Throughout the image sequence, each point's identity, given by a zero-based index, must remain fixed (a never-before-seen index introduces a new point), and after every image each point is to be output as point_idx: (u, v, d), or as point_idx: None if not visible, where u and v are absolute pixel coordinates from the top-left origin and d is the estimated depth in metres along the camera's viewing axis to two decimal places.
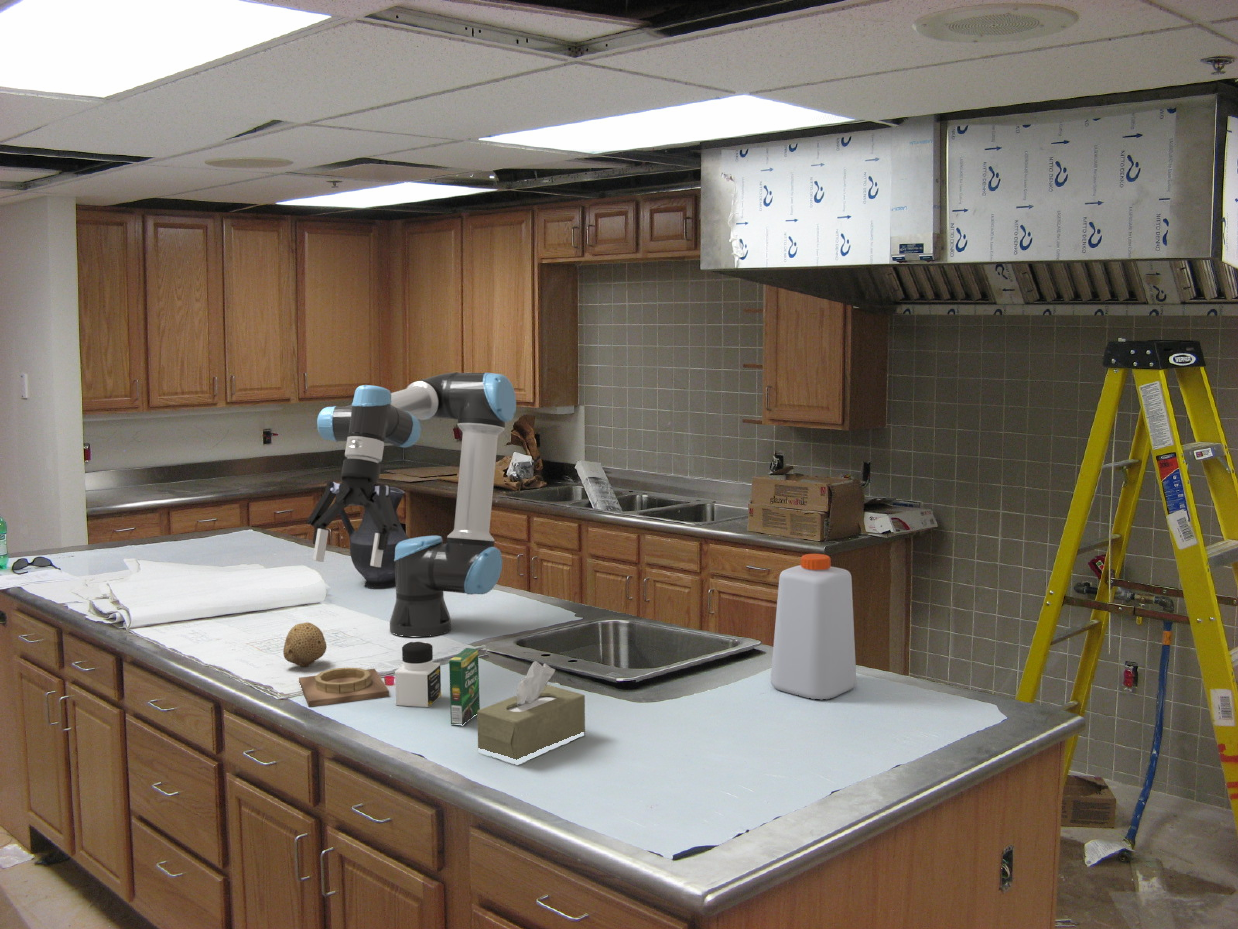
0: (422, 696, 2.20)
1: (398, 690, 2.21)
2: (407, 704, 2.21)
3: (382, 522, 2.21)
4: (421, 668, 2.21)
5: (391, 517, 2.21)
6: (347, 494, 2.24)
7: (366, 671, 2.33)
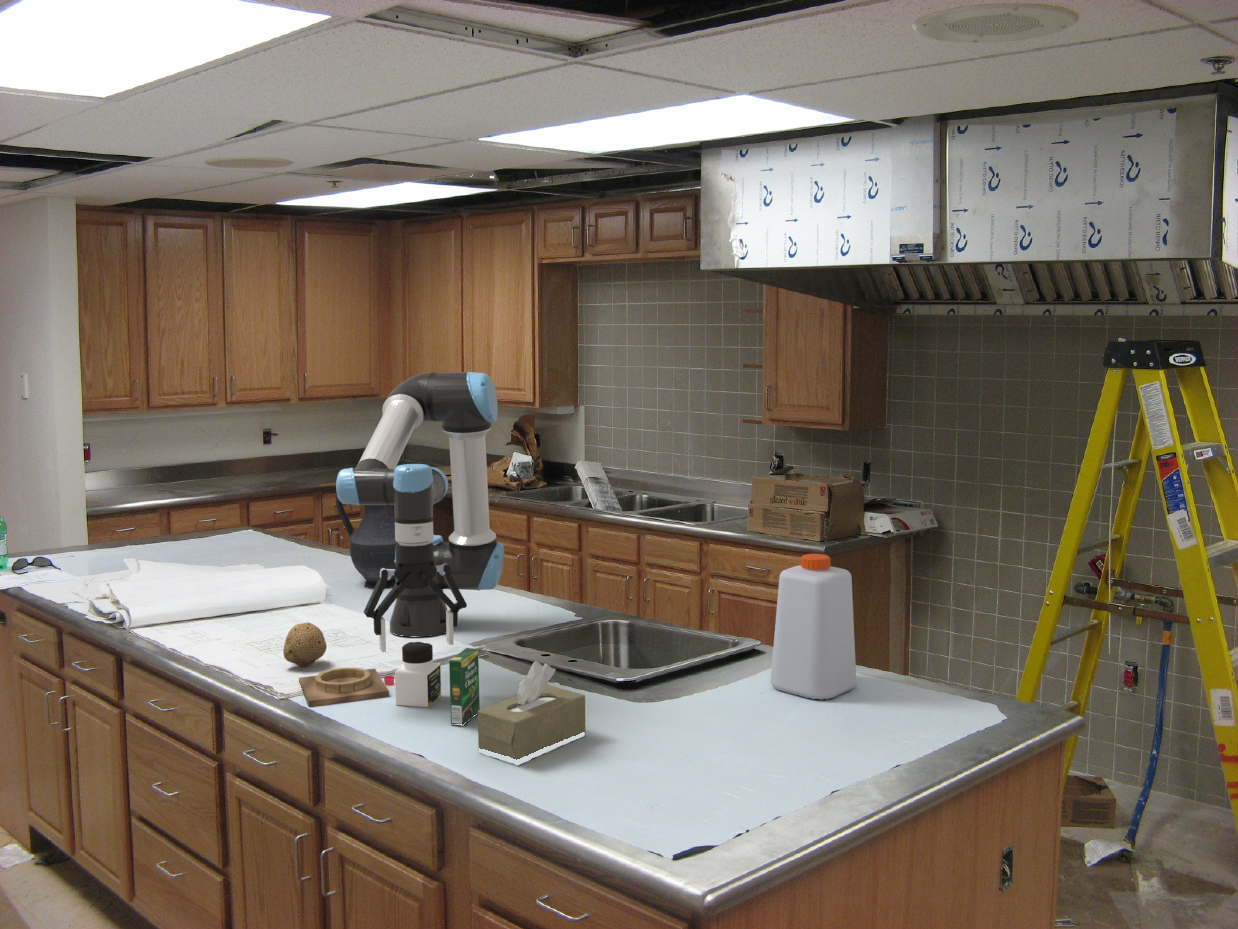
0: (422, 696, 2.20)
1: (398, 690, 2.21)
2: (407, 704, 2.21)
3: None
4: (421, 668, 2.21)
5: None
6: None
7: (366, 671, 2.33)
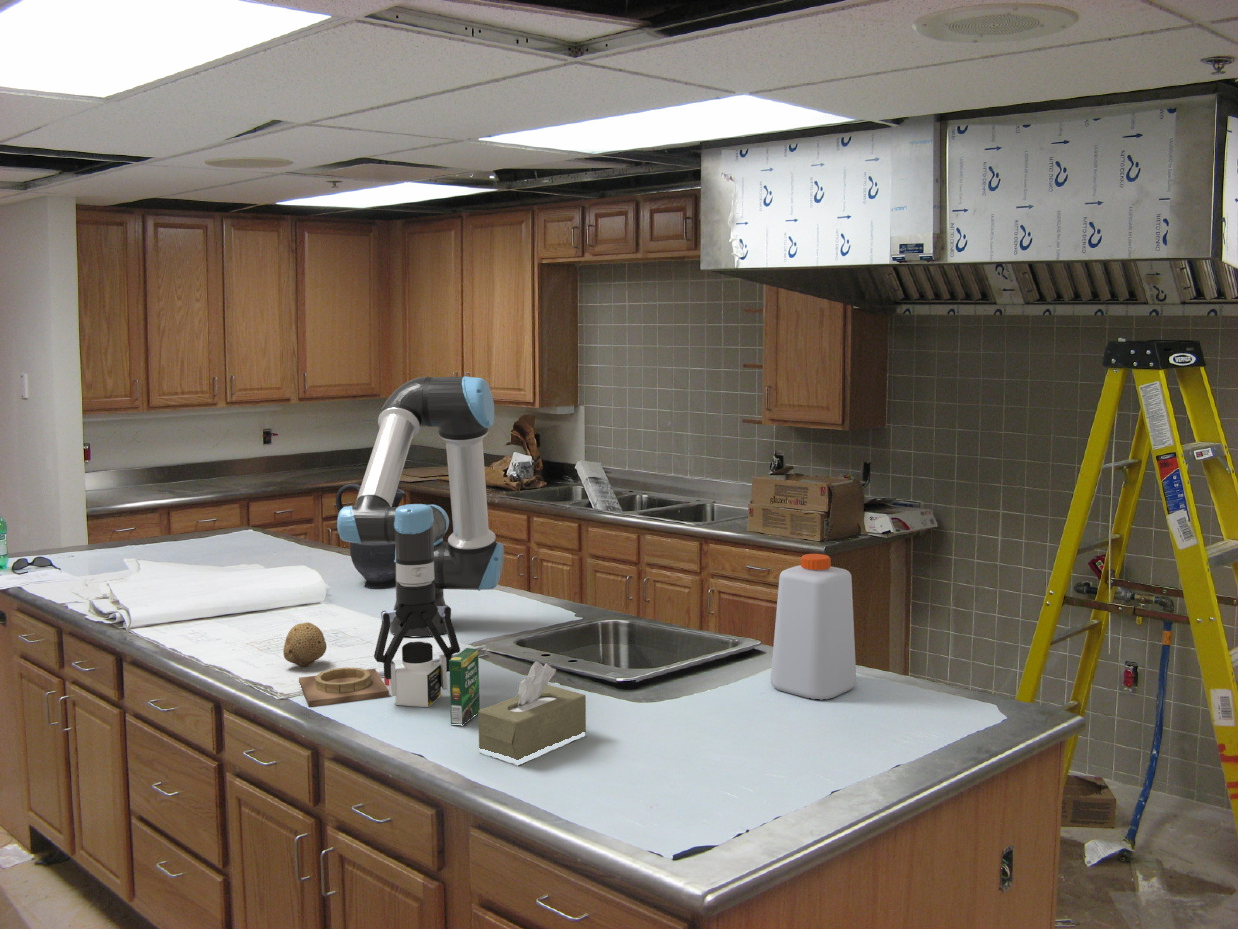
0: (422, 696, 2.20)
1: (398, 690, 2.21)
2: (407, 704, 2.21)
3: (446, 645, 2.24)
4: (421, 668, 2.21)
5: (456, 639, 2.25)
6: None
7: (366, 671, 2.33)
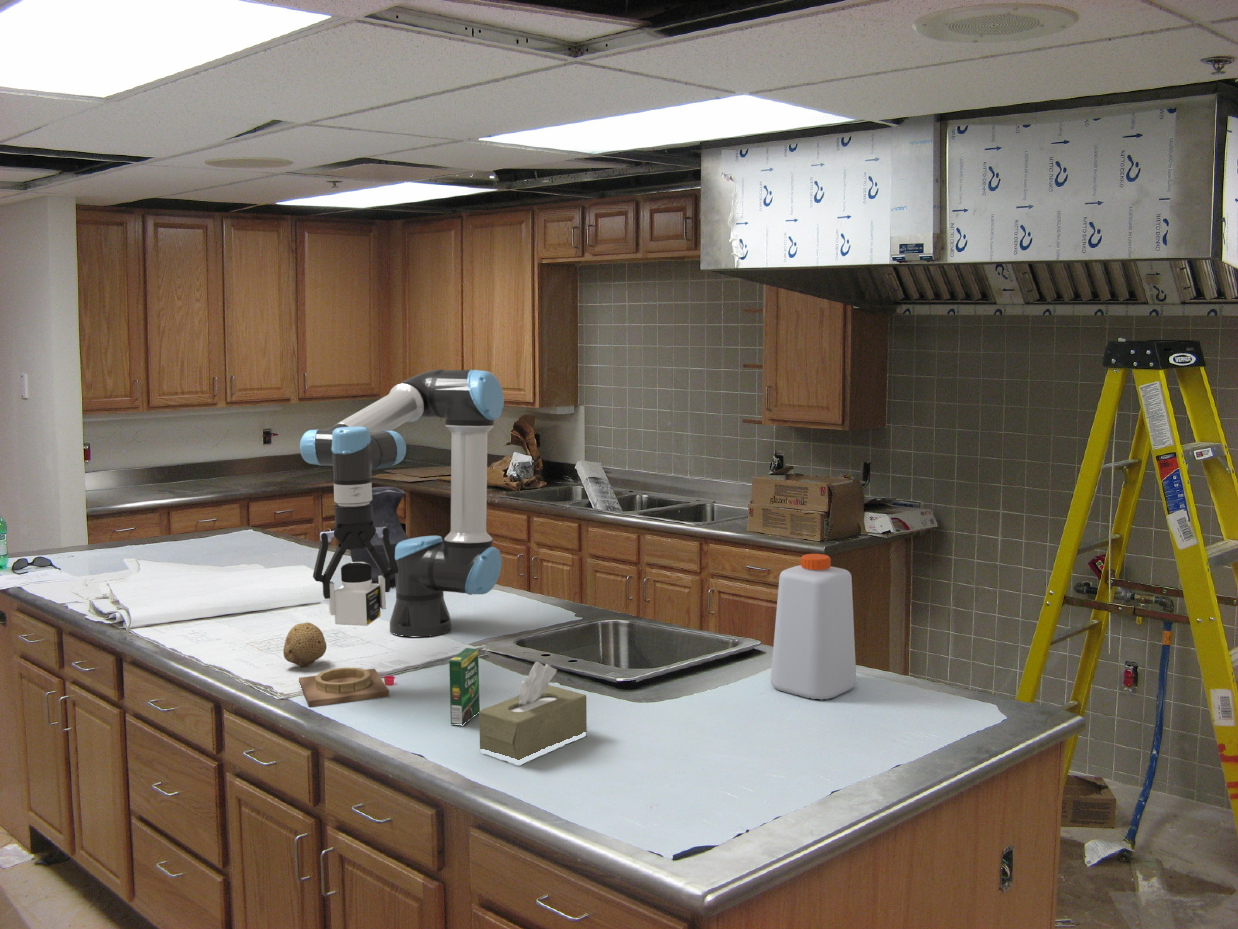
0: (361, 614, 2.24)
1: (337, 609, 2.24)
2: (346, 623, 2.24)
3: (384, 565, 2.28)
4: (359, 587, 2.24)
5: (395, 560, 2.29)
6: (350, 540, 2.24)
7: (366, 671, 2.33)
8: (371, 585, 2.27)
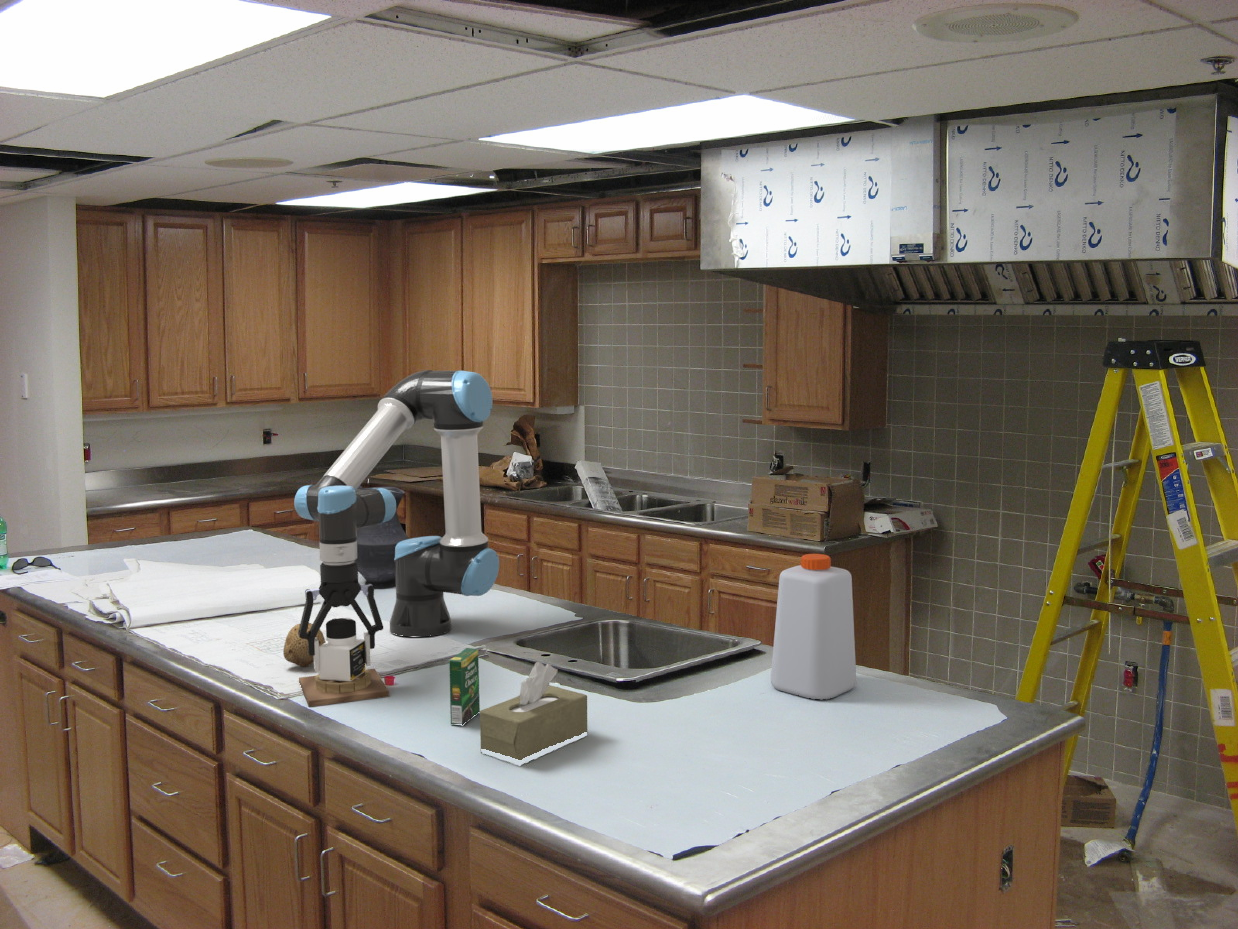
0: (345, 670, 2.26)
1: (322, 665, 2.27)
2: (330, 678, 2.27)
3: (369, 622, 2.31)
4: (343, 644, 2.27)
5: None
6: (335, 598, 2.27)
7: (366, 671, 2.33)
8: (356, 641, 2.30)
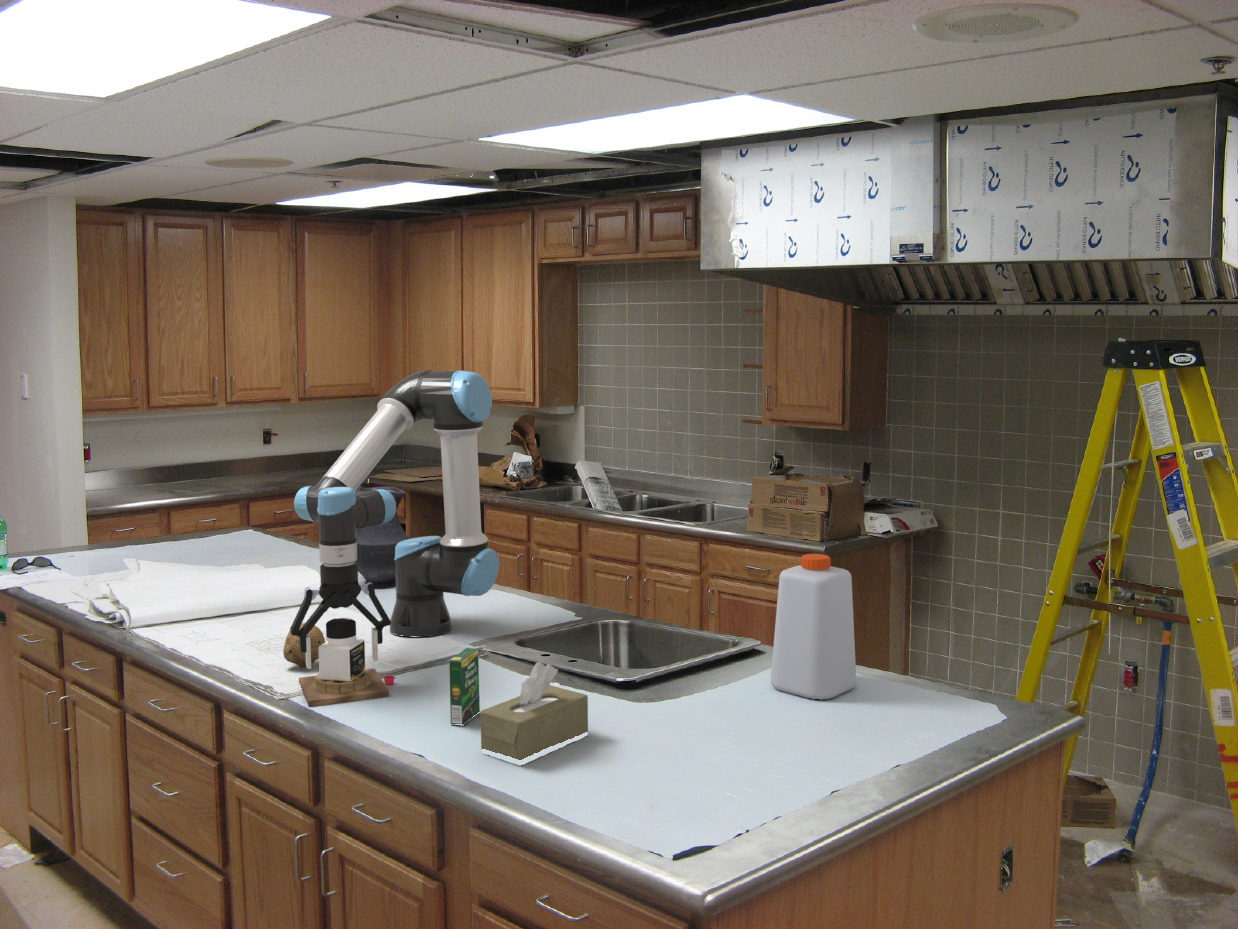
0: (345, 670, 2.26)
1: (321, 665, 2.27)
2: (330, 678, 2.27)
3: (375, 618, 2.31)
4: (343, 644, 2.27)
5: (385, 612, 2.32)
6: None
7: (366, 671, 2.33)
8: (356, 641, 2.30)
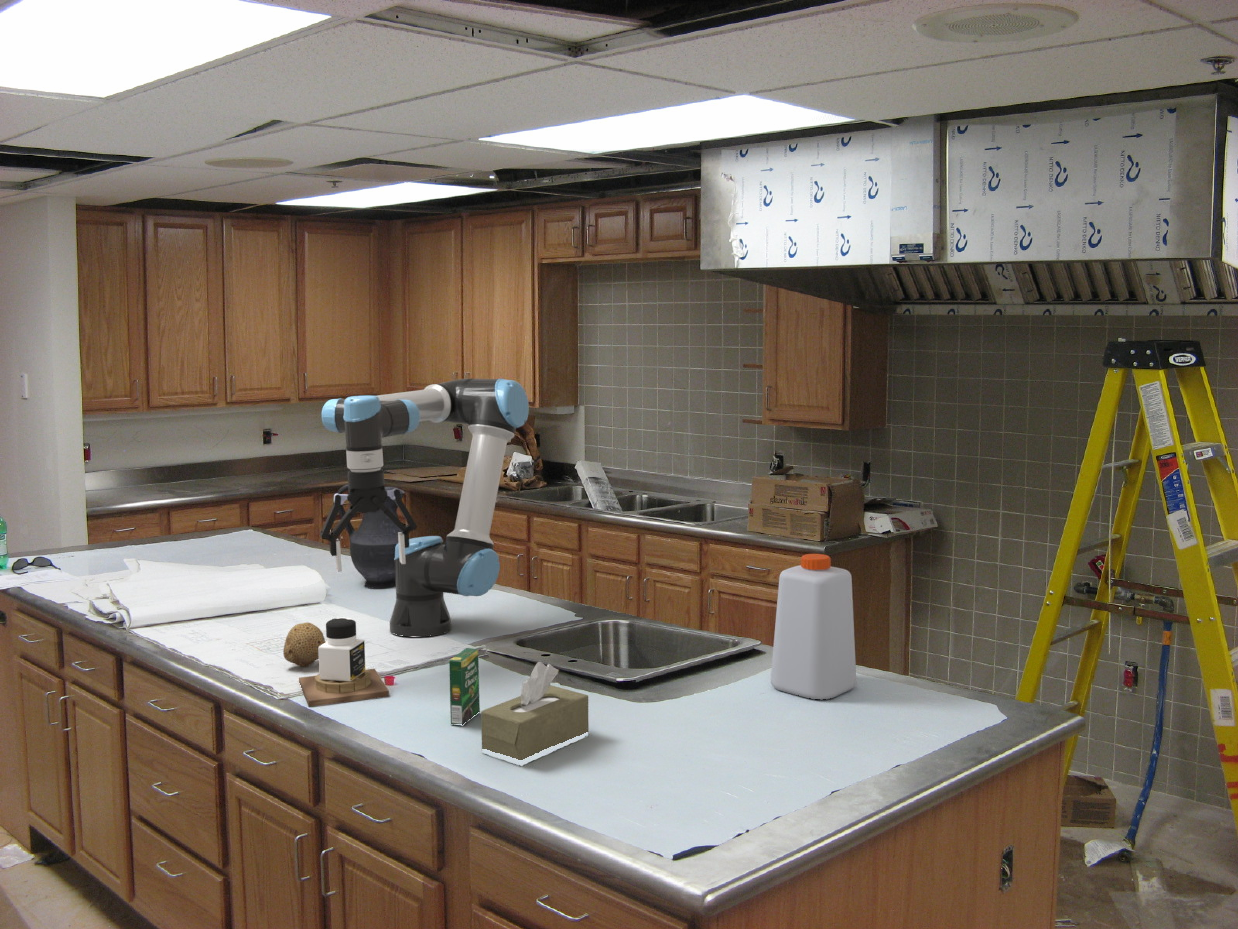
0: (345, 670, 2.26)
1: (321, 665, 2.27)
2: (330, 678, 2.27)
3: (402, 523, 2.39)
4: (343, 644, 2.27)
5: (411, 517, 2.39)
6: (362, 505, 2.34)
7: (366, 671, 2.33)
8: (356, 641, 2.30)
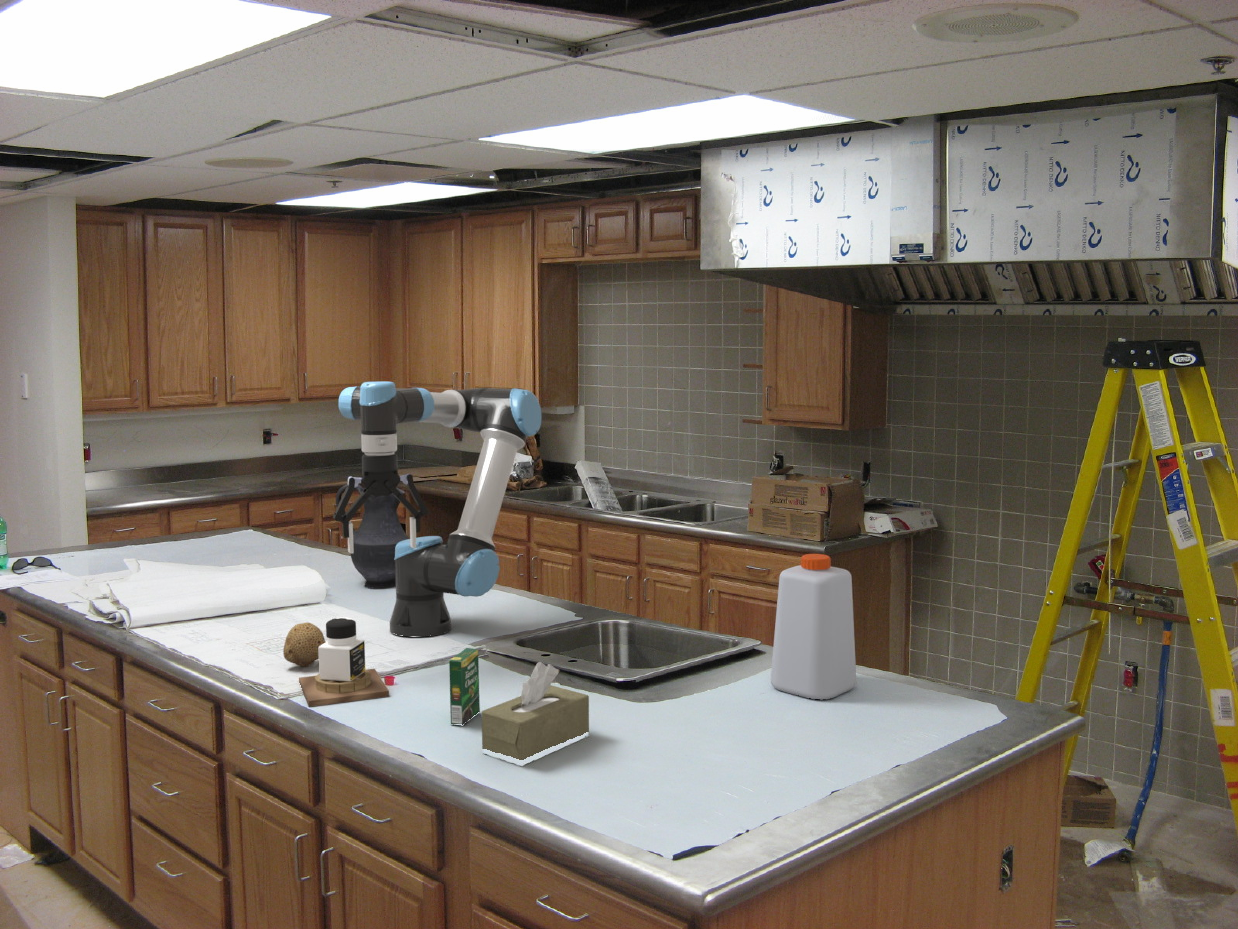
0: (345, 670, 2.26)
1: (321, 665, 2.27)
2: (330, 678, 2.27)
3: (414, 508, 2.43)
4: (343, 644, 2.27)
5: (423, 502, 2.43)
6: (375, 488, 2.38)
7: (366, 671, 2.33)
8: (356, 641, 2.30)
